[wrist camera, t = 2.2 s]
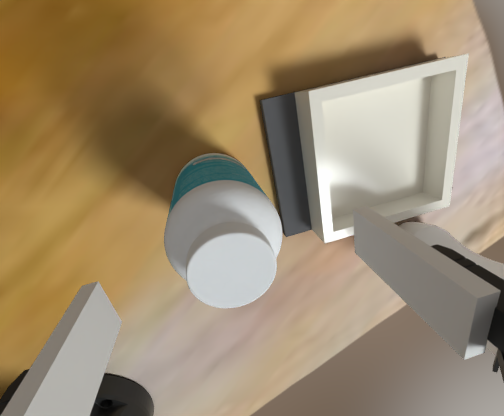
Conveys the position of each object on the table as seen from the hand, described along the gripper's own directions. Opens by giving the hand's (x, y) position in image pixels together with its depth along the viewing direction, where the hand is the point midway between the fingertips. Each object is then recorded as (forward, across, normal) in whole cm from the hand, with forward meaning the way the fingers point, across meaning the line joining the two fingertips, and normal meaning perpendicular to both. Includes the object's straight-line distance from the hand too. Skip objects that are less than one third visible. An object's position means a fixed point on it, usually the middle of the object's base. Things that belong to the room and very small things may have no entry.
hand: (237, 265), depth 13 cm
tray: (+13, +16, 0) cm, 20 cm away
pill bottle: (+13, 0, 0) cm, 13 cm away
